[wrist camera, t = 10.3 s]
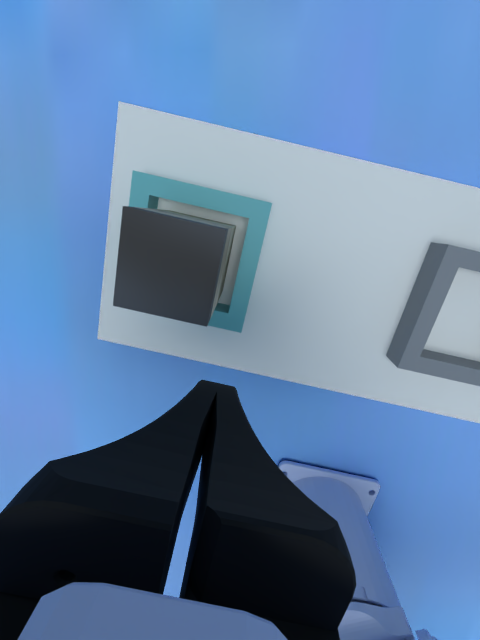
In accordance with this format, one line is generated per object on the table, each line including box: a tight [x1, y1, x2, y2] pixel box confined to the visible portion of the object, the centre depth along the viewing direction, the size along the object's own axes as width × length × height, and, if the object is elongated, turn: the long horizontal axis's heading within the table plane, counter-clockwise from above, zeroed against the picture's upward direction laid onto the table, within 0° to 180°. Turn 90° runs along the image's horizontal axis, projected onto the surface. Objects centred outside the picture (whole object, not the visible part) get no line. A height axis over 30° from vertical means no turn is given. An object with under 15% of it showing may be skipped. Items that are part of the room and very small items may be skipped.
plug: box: [113, 206, 236, 327], centre depth 16 cm, size 4×4×7 cm
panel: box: [98, 101, 480, 423], centre depth 19 cm, size 14×29×3 cm, turn 78°
